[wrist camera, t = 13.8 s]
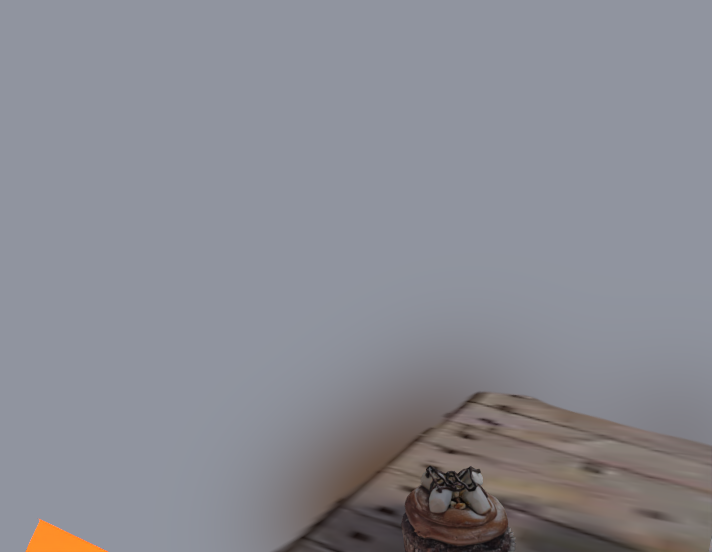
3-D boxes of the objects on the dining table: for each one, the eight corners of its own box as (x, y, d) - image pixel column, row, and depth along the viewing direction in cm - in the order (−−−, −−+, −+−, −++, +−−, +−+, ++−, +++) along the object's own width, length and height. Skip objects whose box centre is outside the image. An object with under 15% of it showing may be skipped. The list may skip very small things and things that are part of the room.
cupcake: (421, 627, 53) (432, 513, 51) (385, 553, 62) (392, 453, 60) (530, 611, 55) (544, 502, 53) (479, 542, 64) (490, 446, 62)
